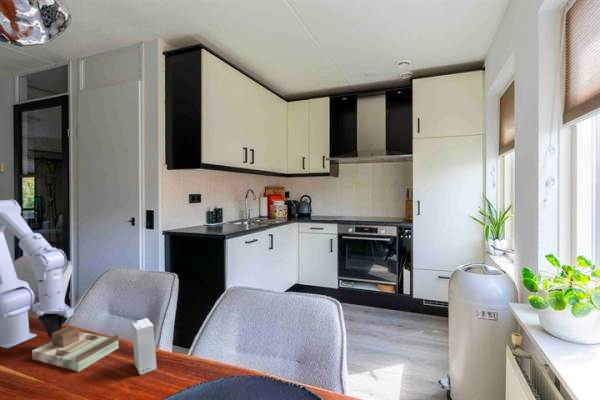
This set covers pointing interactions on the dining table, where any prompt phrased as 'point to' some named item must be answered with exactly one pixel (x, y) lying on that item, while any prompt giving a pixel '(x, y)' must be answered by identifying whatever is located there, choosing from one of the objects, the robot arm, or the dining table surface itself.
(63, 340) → the walnut block
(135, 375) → the dining table surface
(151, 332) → the skincare box
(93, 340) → the box
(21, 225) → the robot arm
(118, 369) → the dining table surface
